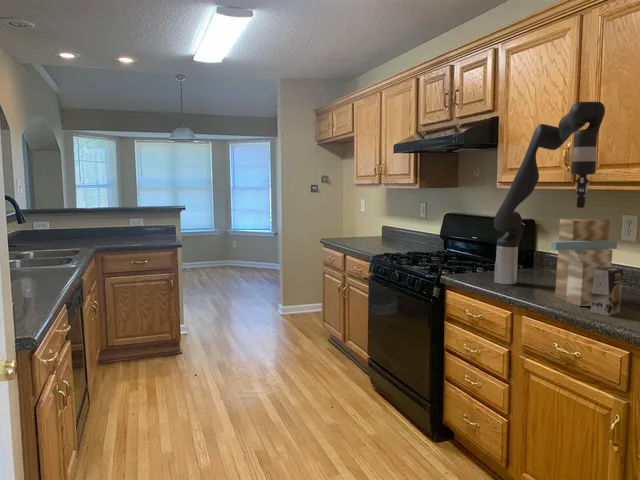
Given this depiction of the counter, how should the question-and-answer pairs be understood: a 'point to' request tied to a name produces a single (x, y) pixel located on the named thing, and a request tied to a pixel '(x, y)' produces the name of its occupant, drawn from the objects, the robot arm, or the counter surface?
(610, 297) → the coffee box
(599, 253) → the beige tall block
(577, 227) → the wooden tall block
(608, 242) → the bar
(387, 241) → the counter surface
